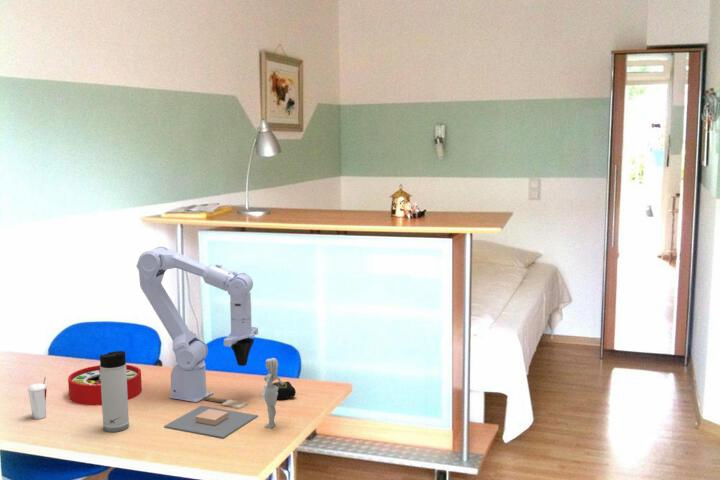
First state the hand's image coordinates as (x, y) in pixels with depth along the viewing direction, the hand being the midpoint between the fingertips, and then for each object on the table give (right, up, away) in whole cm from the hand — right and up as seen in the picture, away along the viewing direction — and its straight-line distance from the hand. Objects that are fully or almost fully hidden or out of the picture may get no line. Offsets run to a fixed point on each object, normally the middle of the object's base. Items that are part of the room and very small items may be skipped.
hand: (242, 365), depth 212 cm
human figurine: (+11, -13, -19) cm, 25 cm away
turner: (-5, -10, -2) cm, 11 cm away
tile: (-4, -11, -13) cm, 17 cm away
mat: (-5, -12, -16) cm, 21 cm away
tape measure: (+11, -10, +4) cm, 16 cm away
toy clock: (-40, -10, +7) cm, 42 cm away
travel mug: (-29, -13, -20) cm, 37 cm away
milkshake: (-52, -12, -12) cm, 54 cm away
